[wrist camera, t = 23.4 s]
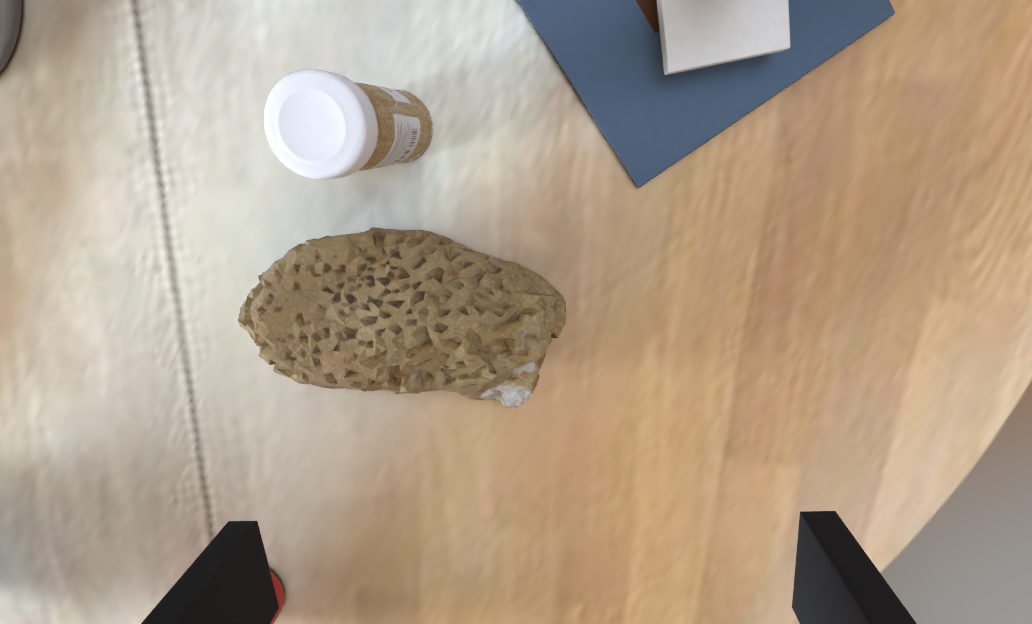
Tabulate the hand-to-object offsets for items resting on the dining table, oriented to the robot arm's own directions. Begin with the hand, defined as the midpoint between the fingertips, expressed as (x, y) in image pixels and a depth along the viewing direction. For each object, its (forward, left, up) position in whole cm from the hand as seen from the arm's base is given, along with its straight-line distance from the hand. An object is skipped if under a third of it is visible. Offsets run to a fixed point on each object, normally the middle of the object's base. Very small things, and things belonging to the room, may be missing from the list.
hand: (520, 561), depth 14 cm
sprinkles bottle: (-14, -2, -27) cm, 30 cm away
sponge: (-4, -9, -27) cm, 29 cm away
